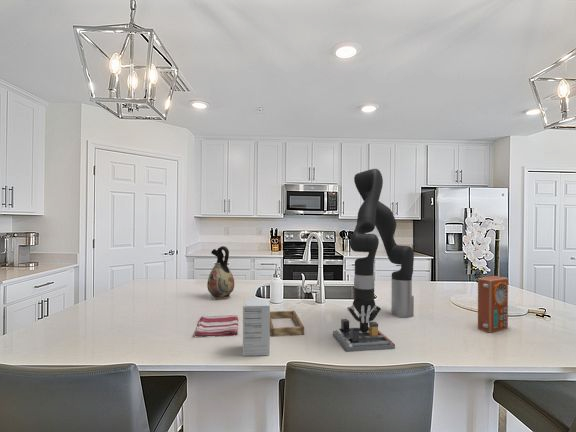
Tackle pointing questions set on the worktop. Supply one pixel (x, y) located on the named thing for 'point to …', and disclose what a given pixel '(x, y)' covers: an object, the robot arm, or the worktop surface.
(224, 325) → the dish towel
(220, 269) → the ceramic jug
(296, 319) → the wooden frame
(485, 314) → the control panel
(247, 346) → the supplement box
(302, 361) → the worktop surface
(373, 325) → the breaker
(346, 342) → the breaker panel
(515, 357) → the worktop surface
